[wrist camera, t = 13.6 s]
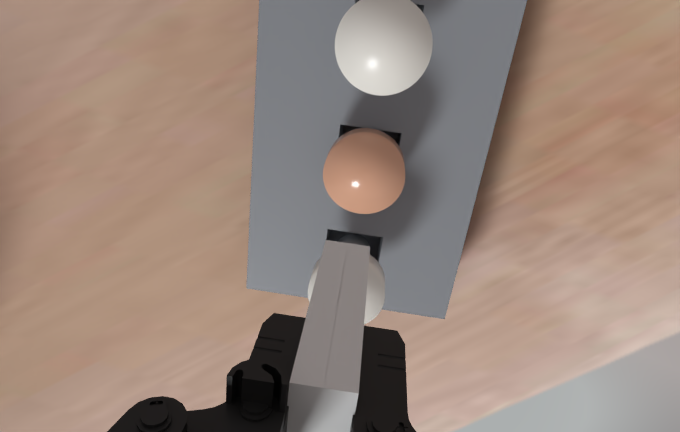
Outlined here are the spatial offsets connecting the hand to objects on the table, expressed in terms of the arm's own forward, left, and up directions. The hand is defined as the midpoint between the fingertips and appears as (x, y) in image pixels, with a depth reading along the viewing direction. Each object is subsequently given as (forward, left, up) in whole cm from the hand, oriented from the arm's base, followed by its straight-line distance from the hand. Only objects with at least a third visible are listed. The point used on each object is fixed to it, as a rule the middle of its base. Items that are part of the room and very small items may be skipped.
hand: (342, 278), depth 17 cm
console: (0, 0, -16) cm, 16 cm away
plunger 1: (0, +7, -13) cm, 15 cm away
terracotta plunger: (0, 0, -15) cm, 15 cm away
